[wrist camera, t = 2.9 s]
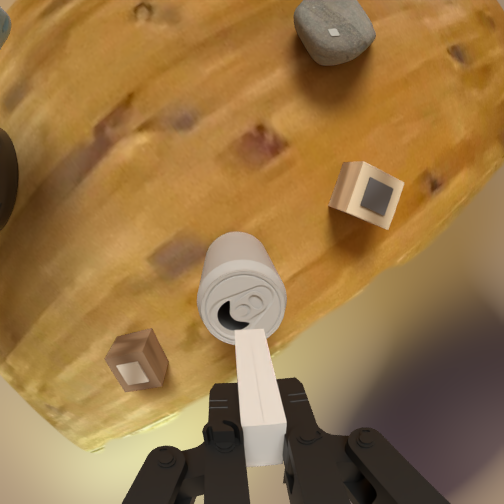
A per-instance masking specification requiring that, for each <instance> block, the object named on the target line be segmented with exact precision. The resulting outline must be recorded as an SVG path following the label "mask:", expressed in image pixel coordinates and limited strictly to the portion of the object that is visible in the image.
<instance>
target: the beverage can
mask: <svg viewBox="0 0 504 504" xmlns="http://www.w3.org/2000/svg"><path fill="white" fill-rule="evenodd" d="M286 301H287V297H286V290H285V287H284V284H283V282H282V280H281V278H280V276H279V274H278V273H277V271H276V269H275V267H274V265H273V263H272V261H271V259H270V257H269V256H268V254H267V252H266V250H265V248H264V246H263V245H262V243H261V242H260V241H259V240H258V239H257V238H255V237H254V236H252V235H250V234H247V233H244V232H230V233H226V234H224V235H222V236H220V237H218V238H217V239H216V240H215V241H214V242H213V243H212V244H211V245H210V247H209V249H208V251H207V254H206V258H205V262H204V267H203V271H202V276H201V280H200V285H199V290H198V295H197V306H198V311H199V314H200V317H201V319H202V320H203V322H204V324H205V326H206V327H207V329H208V330H209V331H210V333H211V334H212V335H214V336H215V337H216V338H218V339H219V340H221V341H223V342H225V343H228V344H232V345H235V331H234V330H247V329H264V332H265V336H266V339H267V338H268V337H269V336H271V335H272V334H273V333H274V332H275V331H276V330H277V328H278V327H279V325H280V324H281V322H282V319H283V316H284V311H285V308H286Z"/></svg>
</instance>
